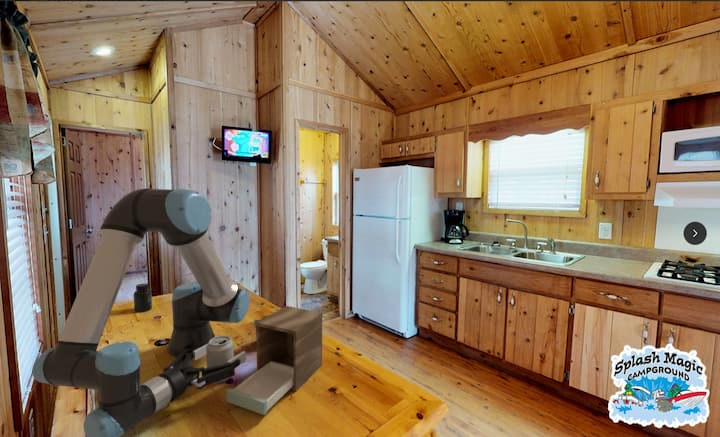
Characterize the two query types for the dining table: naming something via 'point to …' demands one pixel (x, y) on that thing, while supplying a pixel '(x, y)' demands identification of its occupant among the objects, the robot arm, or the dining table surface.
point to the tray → (263, 387)
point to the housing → (291, 341)
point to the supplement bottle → (142, 298)
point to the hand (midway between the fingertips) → (227, 350)
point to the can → (219, 352)
